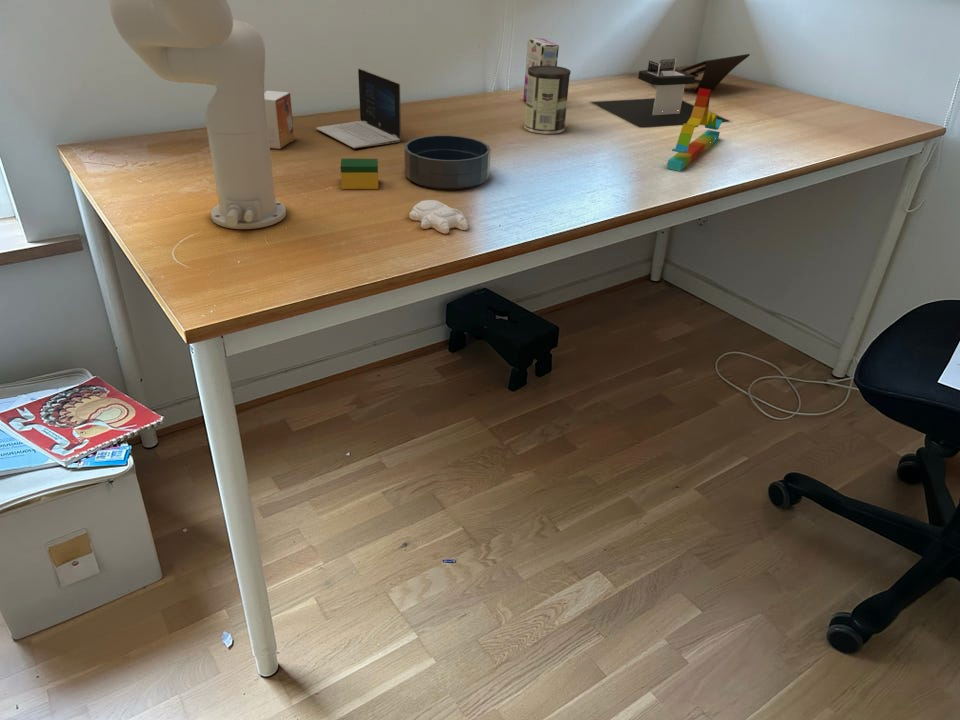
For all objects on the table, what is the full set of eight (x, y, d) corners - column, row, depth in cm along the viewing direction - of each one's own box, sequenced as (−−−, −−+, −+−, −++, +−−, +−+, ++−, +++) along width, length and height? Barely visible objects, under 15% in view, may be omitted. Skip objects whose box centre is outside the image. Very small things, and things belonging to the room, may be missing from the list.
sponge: (378, 189, 142) (377, 166, 140) (341, 189, 142) (340, 166, 139) (378, 180, 146) (377, 158, 144) (342, 180, 146) (341, 158, 143)
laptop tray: (692, 97, 245) (686, 69, 243) (753, 77, 226) (748, 46, 224) (648, 106, 232) (642, 76, 230) (710, 85, 213) (704, 53, 211)
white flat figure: (431, 237, 124) (431, 220, 122) (402, 213, 133) (402, 196, 131) (476, 229, 128) (477, 213, 126) (445, 206, 136) (446, 190, 135)
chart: (705, 137, 183) (718, 74, 175) (718, 139, 182) (732, 76, 174) (665, 168, 161) (678, 97, 153) (679, 171, 160) (693, 100, 152)
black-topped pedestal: (674, 97, 218) (683, 50, 211) (729, 121, 198) (741, 69, 190) (591, 102, 209) (597, 52, 202) (640, 127, 188) (648, 72, 181)
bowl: (494, 191, 144) (495, 161, 141) (406, 191, 142) (406, 160, 139) (483, 163, 159) (484, 135, 155) (403, 163, 156) (403, 134, 153)
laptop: (315, 130, 174) (311, 72, 167) (361, 123, 180) (359, 67, 173) (353, 150, 162) (350, 89, 155) (401, 142, 169) (400, 83, 162)
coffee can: (553, 121, 189) (558, 64, 182) (571, 133, 181) (578, 73, 174) (516, 124, 186) (521, 65, 178) (534, 135, 178) (539, 74, 170)
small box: (280, 149, 160) (275, 100, 155) (256, 147, 161) (250, 97, 155) (295, 139, 167) (290, 92, 161) (272, 137, 168) (267, 89, 162)
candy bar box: (553, 109, 200) (559, 45, 191) (536, 110, 199) (542, 45, 190) (538, 99, 209) (544, 37, 200) (522, 99, 208) (527, 37, 199)
